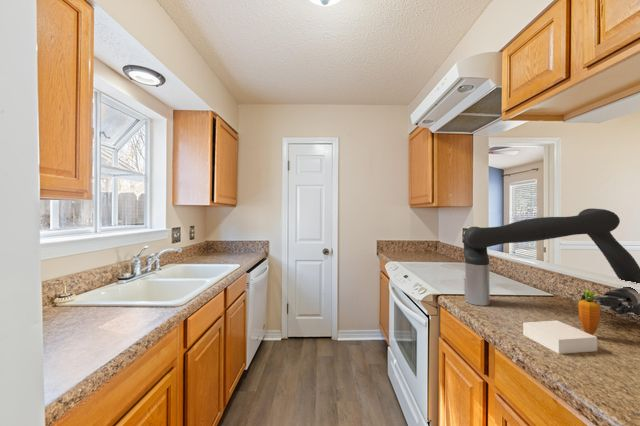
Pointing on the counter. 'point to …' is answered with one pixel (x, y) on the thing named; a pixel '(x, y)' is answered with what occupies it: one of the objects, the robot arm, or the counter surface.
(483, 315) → the counter surface
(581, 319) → the carrot
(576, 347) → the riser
